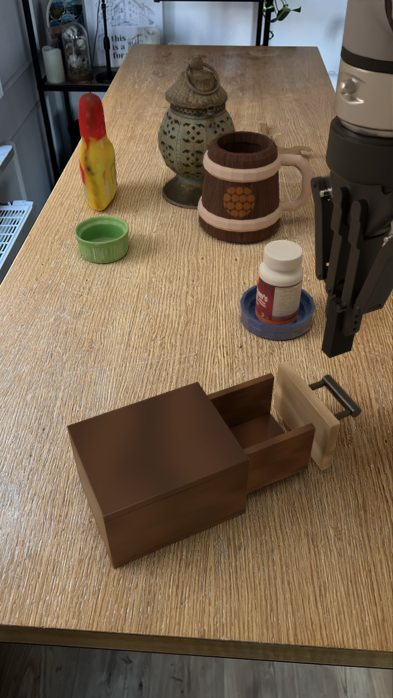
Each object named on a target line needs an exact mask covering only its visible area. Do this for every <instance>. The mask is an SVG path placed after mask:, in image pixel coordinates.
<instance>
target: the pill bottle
mask: <svg viewBox="0 0 393 698" xmlns="http://www.w3.org/2000/svg"><path fill="white" fill-rule="evenodd" d="M303 254H304V249H303V247H301V245H300V244H298V243H296V242H294V241H292V240H288V239H276V240H272V241H270V242H268V243H266V245H265V247H264V249H263V256H262V260H263V261H262V262H261V263H260V264H259V267H258V271H257V273H258V274H257V284H256V285H257V296H256V311H255V313H256V317H257V318H258V320H259V321H261V322H264V323H269V324H273V325H290V324H292V323H293V322H294V321H295V320H296V319H297V316H298V310H299V303H300V296H301V289H303V281H304V266H303V265H302V263H303V256H304V255H303Z"/></svg>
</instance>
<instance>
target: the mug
mask: <svg viewBox="0 0 393 698" xmlns="http://www.w3.org/2000/svg"><path fill="white" fill-rule="evenodd" d="M277 147H278V145H277V144H276V142H275V141H274V140H273V138H272V139H270V138H269V137H267V136H266V135H263V134H262V133H260V132H256V131H250V130H249V131H247V130H238V131H237V130H235V131H234V132H228V133H224V134H222V135H219V136H218V137H216V138H215V139H214V140H212V141H211V142H210V144H209V147H208V150H207V151H206V153H205V155H204V159H203V164H204V168H205V173H204V182H203V191H202V196H201V198H200V200H199V203H198V209H197V211H198V223H199V226H200V227H201V229H202V230H203V231H204V232H205V233H207V234H208V235H209V236H210V237H212V238H215V239H217V240H220V241H224V242H226V243H232V244H233V243H235V244H236V243H237V244H246V243H255V242H259V241H262V240H265V239H266V238H268V237H270V236H272V235H273V234H275V233H276V231H278V229H279V228H280V225H281V217H282V215H283V212H295V211H298V210H300V209H301V208H303V207H305V206H306V205H307V204H308V203H309V201H310V199H311V197H312V190H311V185H310V182H311V179H312V178H314V174H315V173H314V170H313V169H312V168H313V167H312V166H311V164H310V162H309V161H308V160H307V159H306V158H305V157H303V155H302V154H301V155H294V154H279V152H278V150H277ZM282 167H295V168H296V169H297V170H298V171H299V173H300V175H301V187H300V193H299V195H298V197H297V198H296V199H293V200H281V198H280V169H281V168H282Z"/></svg>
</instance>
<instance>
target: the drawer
mask: <svg viewBox="0 0 393 698" xmlns="http://www.w3.org/2000/svg"><path fill="white" fill-rule="evenodd" d="M276 372H277V373H276V381H275V375H273V373H272V372H269V373H266V374H264V375H263V374H262V375H260V376H257V377H254V378H252V379H249V380H246V381H243V382H240V383H237V384H235V385H232V386H229V387H226V388H223V389H220V390H218V391H214V392H212V393H209V394H207V396H208V397H209V399H210V401H211V402H212V404H213V405H214V407H215V408H216V410H217V411H218V413H219V414H220V416H221V417H222V419H223V420H224V422H225V423H226V425H227V426H228V428H229V429H230V431H231V432H232V434H233V435H234V437H235V438H236V440H237V441H238V443H239V444H240V446H241V447H242V449H243V450H244V452H245V453H246V455H247V456H248V458H249V473H248V485H247V494H249V493H250V494H251V493H252V492H255V491H257V490H260V489H262V488H265V487H266V486H269V485H271V484H273V483H276V482H279V481H281V480H283V479H286V478H288V477H290V476H293V475H295V474H298V473H301V472H303V471H305V470H307V469H309V465H310V460H311V458H312V460H313V461H314V463H315V464H316V466H317V467H318V468H319V469H320V470H321V471H323V470H325V469H328V468H330V467H331V465H332V462H333V457H334V452H335V449H336V444H337V440H338V436H339V431H340V427H341V422H340V421H341V420H343V419H346V418H348V417H349V416H350V417H351V418H353V419H355V418H357V417H359V416H360V415H361V414H362V413H363V409H362V408H361V407H360V406H359V404H358V403H357V402H356V401H355V400H354V399H353V398H352V397H351V395H350V394H349V393H347V391H346V390H345V389H344V388H343V387H342V386H341V385H340V383H338V381H337V380H336V379H335V378H334V377H333V376H332V375H331V374H330V373H329V374H325V375H324V376H323V377H322V378H321V379H320V380H319V381H316V382H313V383H310V384H307V382H306V381H305V380H304V379H303V378H302V376H301V375H300V374H299V373H298V372H297V371H296V370H295V368H294V367H293V366H292V364H291V363H289V362H288V360H286V361H283V362H280V363H278V364H277V371H276ZM274 384H275V390H274ZM321 388H325V389H326V390H327V391H328V392H329V394H331V396H332V397H333V398H334V399H335V400H336V401H337V403H338V404H339V405H340V406H341V407H342V408H343V410H341V411H339V412H337V413H334V414H333V413H332V412H331V411H330V409H329V408H328V407H327V406H326V404H325V403H324V402H323V401H322V400H321V399H320V397H319V396H318V395H317V394H316V393H315V392H314V391H316V390H319V389H321ZM273 392H274V393H273ZM273 394H274V397H273ZM272 402H273V403H272ZM272 404H273V409H274V410H275V411H276V412H277V414H278V415H279V417H280V418H281V419H282V421H283V422H284V423H285V425H286V426H287V427H288V428H289V429H290V431H285V430H284V429H283V427H282V426H281V425H280V424H279V422H278V421H277V419H276V418H275V416H273V414H272V413H271V412H272Z"/></svg>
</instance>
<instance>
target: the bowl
mask: <svg viewBox="0 0 393 698" xmlns="http://www.w3.org/2000/svg"><path fill="white" fill-rule="evenodd" d="M256 296H257V284H255V285H252V286H251V287H249V288H248V289H246V290H245V291H244V292H243V293H242V296H241V298H240V300H239V317H240V318H239V319H240V322H241V323H242V325H243V326H244V327H245V328H246V329H247V331H249V332H251V333H252V334H254V335H255V336H258V337H259V338H263V339H269V340H275V341H278V340H291V339H294V338H297V337H300V336H303V335H304V334H305V333H306V332H307V331H309V330H310V329H311V328H312V326H313V323H314V320H315V314H316V307H317V306H316V303H315V300H314V298H313V296H312V295H310V293H308V291H306V290H305V289H304V288H302V289H301V296H300V303H299V310H298V316H297V319H296V320H295V321H294V322H293V323H292V324H290V325H273V324H269V323H264V322H261V321H259V320H258V318H257V317H256V313H255V311H256Z"/></svg>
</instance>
